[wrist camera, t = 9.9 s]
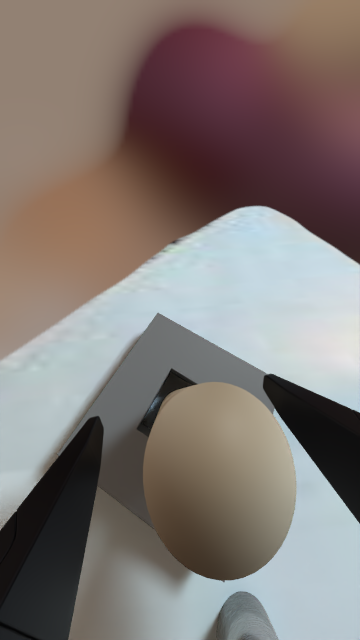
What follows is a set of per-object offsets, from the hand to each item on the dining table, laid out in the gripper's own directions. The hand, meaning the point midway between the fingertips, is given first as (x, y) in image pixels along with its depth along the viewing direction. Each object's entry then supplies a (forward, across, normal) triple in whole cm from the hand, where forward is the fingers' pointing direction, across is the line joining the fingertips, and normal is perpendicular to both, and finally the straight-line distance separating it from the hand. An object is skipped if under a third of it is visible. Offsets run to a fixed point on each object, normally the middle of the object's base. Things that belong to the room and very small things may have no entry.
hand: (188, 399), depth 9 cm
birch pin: (+6, 0, +8) cm, 10 cm away
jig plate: (+6, 0, +8) cm, 10 cm away
